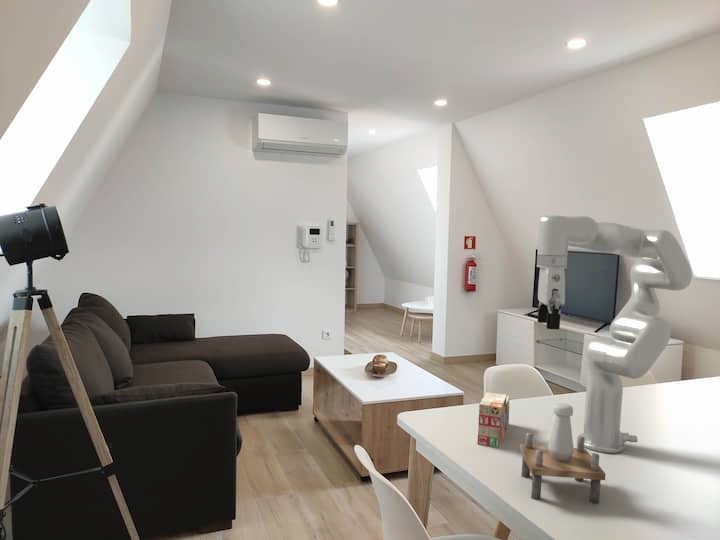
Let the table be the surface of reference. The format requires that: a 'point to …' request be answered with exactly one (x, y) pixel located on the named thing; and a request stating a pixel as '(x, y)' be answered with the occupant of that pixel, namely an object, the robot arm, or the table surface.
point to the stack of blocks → (493, 419)
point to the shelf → (561, 466)
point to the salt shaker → (561, 433)
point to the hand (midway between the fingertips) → (548, 325)
